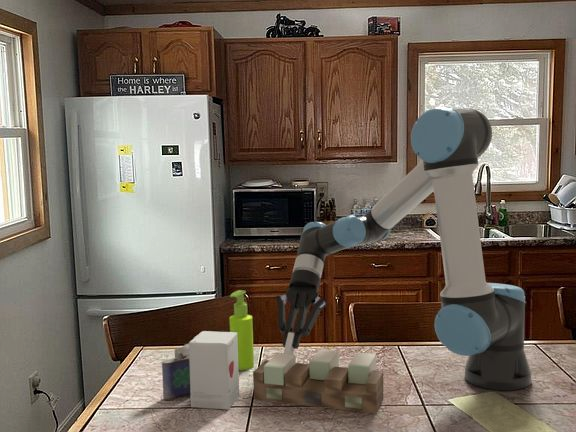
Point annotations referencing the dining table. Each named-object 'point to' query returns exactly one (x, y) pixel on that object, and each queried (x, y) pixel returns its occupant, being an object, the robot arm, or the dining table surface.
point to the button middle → (323, 363)
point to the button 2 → (361, 367)
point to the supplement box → (214, 370)
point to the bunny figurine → (185, 350)
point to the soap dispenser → (242, 331)
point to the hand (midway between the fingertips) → (287, 359)
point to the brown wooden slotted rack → (321, 389)
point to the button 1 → (278, 368)
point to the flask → (176, 377)
